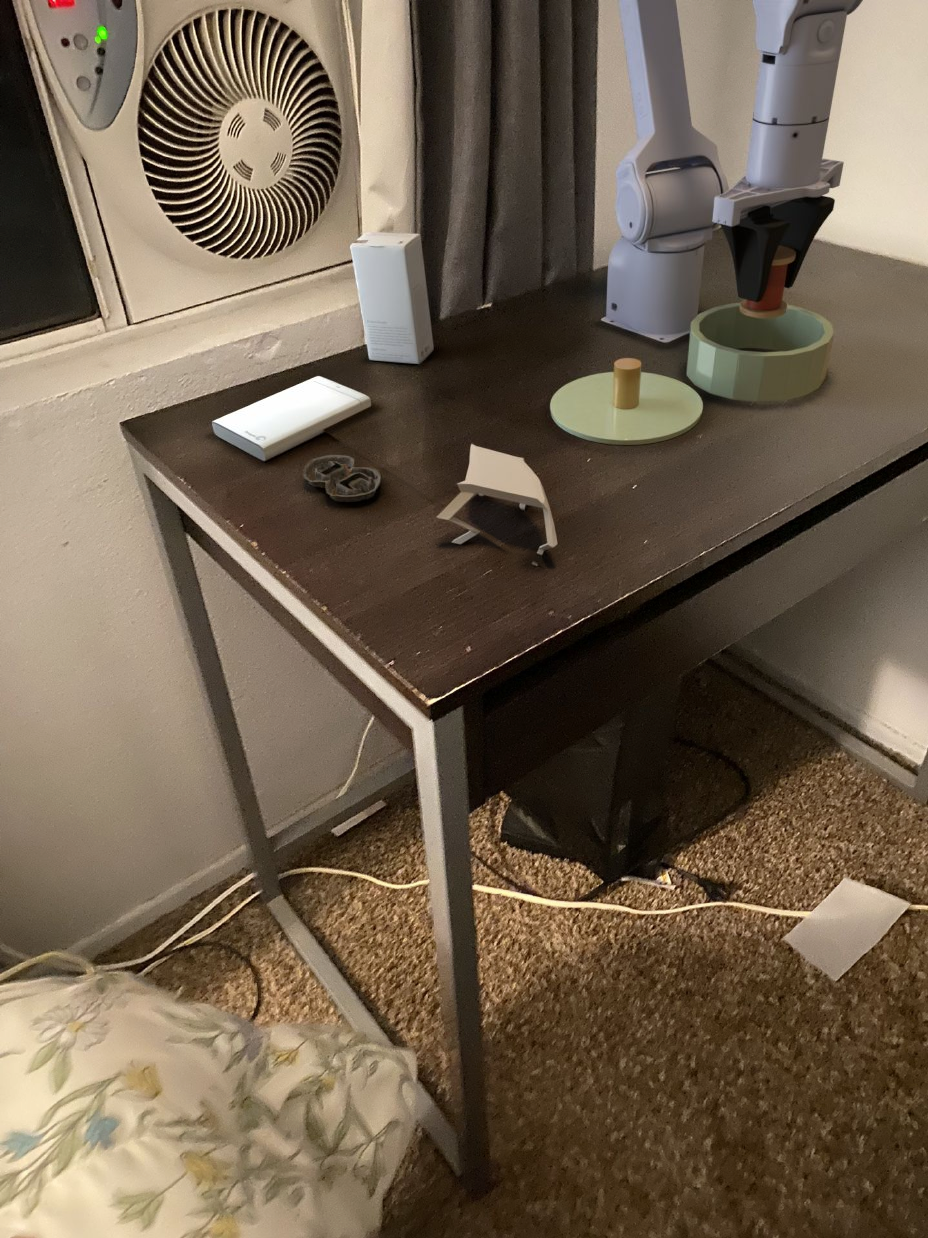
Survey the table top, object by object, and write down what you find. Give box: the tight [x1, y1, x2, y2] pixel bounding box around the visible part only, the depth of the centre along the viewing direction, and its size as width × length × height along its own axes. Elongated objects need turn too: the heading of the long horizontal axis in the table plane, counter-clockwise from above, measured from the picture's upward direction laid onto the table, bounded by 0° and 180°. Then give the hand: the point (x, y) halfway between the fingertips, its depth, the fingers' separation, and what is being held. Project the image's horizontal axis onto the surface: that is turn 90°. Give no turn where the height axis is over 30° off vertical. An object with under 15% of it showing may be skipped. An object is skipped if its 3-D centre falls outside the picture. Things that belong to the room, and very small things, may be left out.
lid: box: [549, 357, 704, 446], centre depth 81 cm, size 14×14×5 cm
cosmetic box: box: [349, 231, 435, 365], centre depth 92 cm, size 6×4×12 cm
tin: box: [686, 302, 835, 403], centre depth 85 cm, size 13×13×5 cm
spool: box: [739, 245, 796, 318], centre depth 79 cm, size 4×4×5 cm
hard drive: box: [211, 375, 372, 462], centre depth 85 cm, size 2×8×12 cm
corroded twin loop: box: [301, 454, 382, 503], centre depth 75 cm, size 5×8×1 cm, turn 45°
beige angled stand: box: [435, 443, 558, 567], centre depth 67 cm, size 12×8×5 cm
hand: (765, 291), depth 79 cm, fingers closed on spool, 4 cm apart
